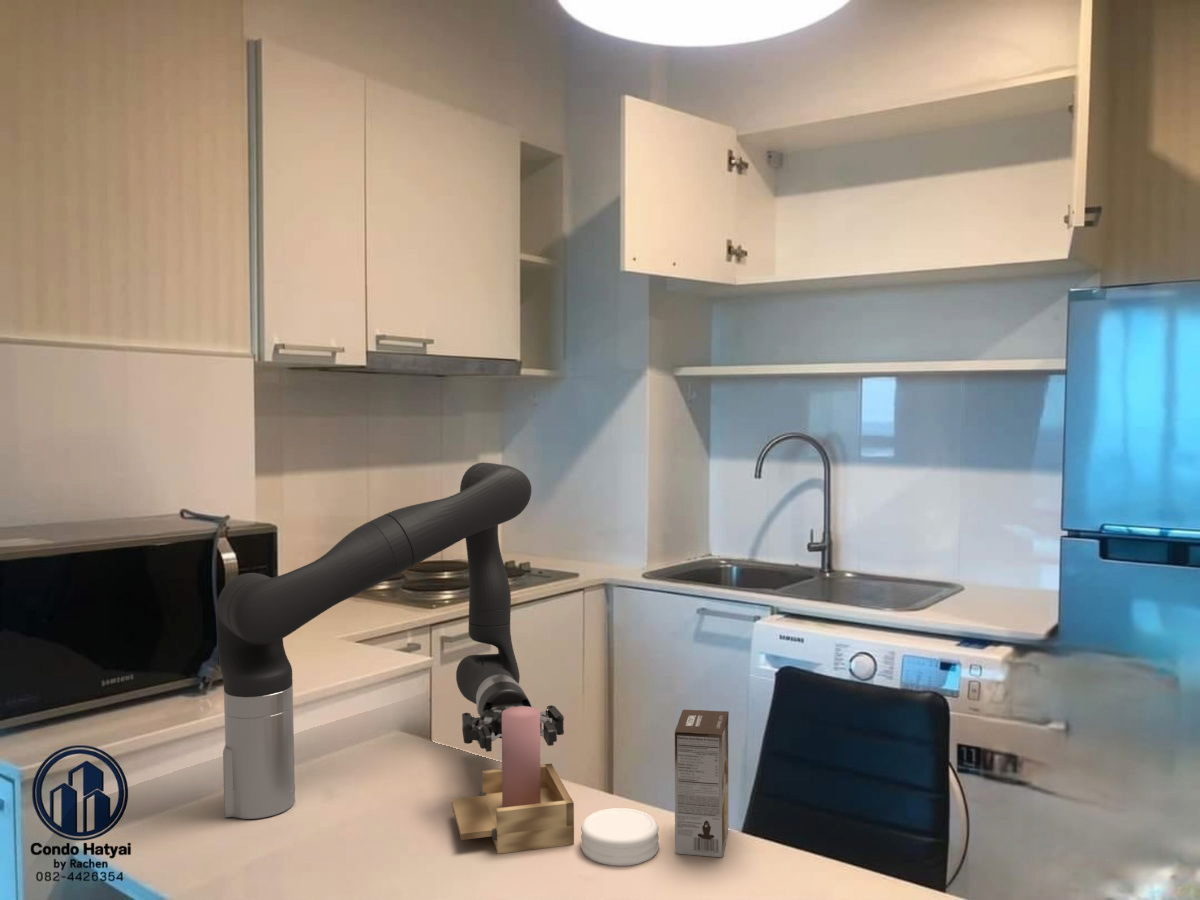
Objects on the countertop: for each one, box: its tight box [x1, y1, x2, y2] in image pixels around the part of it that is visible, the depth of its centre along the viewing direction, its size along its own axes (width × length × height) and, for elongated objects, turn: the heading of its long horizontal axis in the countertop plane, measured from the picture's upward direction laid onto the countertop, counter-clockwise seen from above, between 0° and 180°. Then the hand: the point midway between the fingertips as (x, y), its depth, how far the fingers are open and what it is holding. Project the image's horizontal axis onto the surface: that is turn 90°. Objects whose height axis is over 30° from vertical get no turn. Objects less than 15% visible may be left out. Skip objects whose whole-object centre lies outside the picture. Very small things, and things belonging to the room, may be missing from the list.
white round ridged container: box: [580, 807, 660, 867], centre depth 122 cm, size 10×10×4 cm
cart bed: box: [451, 763, 575, 855], centre depth 127 cm, size 14×14×6 cm
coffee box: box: [674, 709, 730, 858], centre depth 123 cm, size 9×6×16 cm
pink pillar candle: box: [501, 706, 541, 808], centre depth 128 cm, size 5×5×13 cm
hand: (520, 741), depth 128 cm, fingers open, 8 cm apart
